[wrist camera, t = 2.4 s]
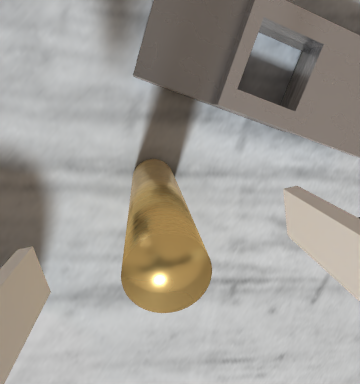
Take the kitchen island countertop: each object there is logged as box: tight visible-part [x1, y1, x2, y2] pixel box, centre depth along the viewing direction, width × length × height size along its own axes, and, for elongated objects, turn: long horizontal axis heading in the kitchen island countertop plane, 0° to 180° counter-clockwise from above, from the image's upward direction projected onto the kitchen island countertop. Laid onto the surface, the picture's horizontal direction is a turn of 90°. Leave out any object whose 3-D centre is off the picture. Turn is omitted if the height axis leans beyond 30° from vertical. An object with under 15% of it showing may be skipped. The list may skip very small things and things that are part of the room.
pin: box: [121, 159, 212, 313], centre depth 19 cm, size 4×4×15 cm
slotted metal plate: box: [133, 0, 360, 157], centre depth 23 cm, size 20×8×3 cm, turn 71°
